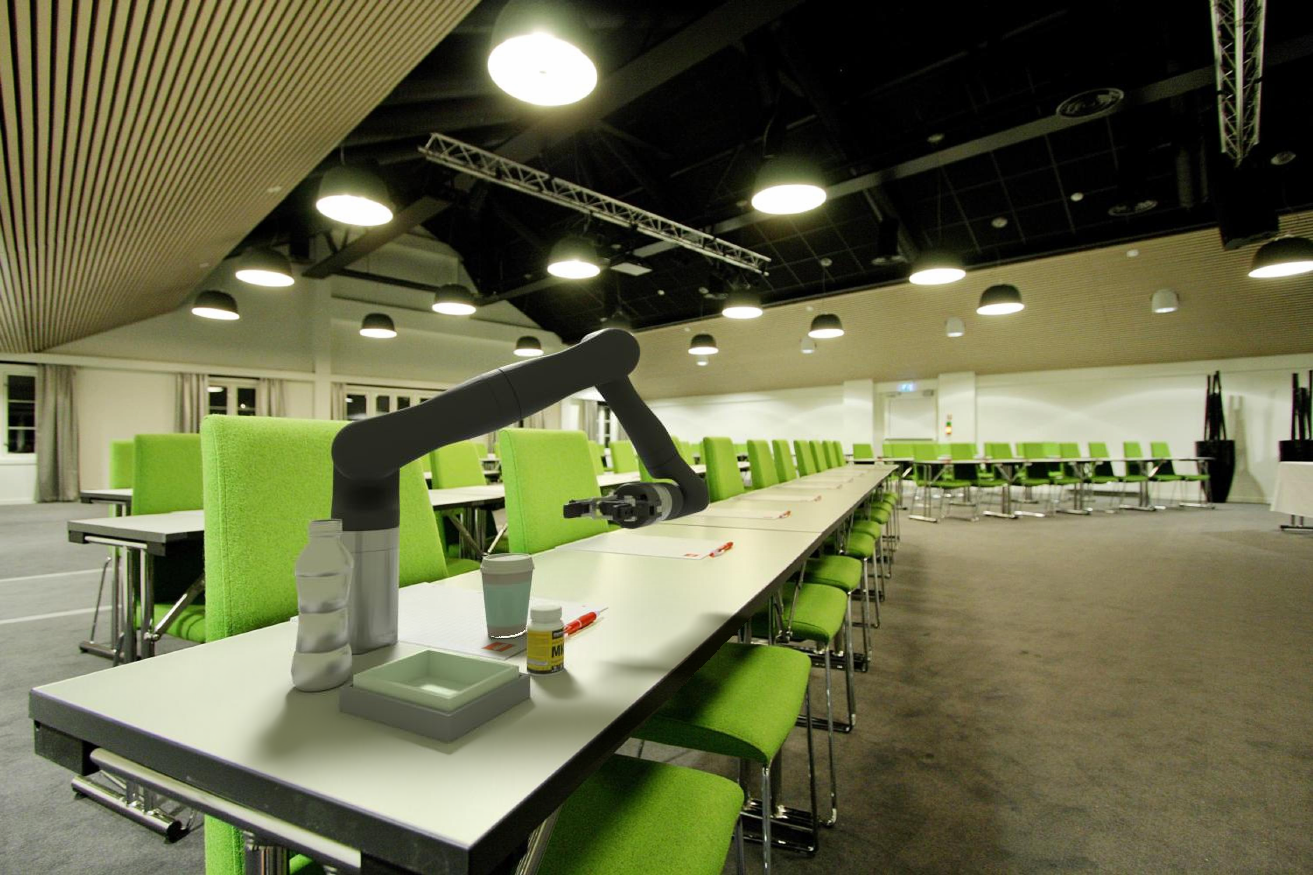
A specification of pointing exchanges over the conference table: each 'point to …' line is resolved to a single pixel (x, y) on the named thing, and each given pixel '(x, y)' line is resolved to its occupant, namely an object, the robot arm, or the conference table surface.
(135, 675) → the conference table surface
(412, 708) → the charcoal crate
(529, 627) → the supplement bottle
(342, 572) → the plastic bottle
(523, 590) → the coffee cup
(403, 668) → the sage crate
